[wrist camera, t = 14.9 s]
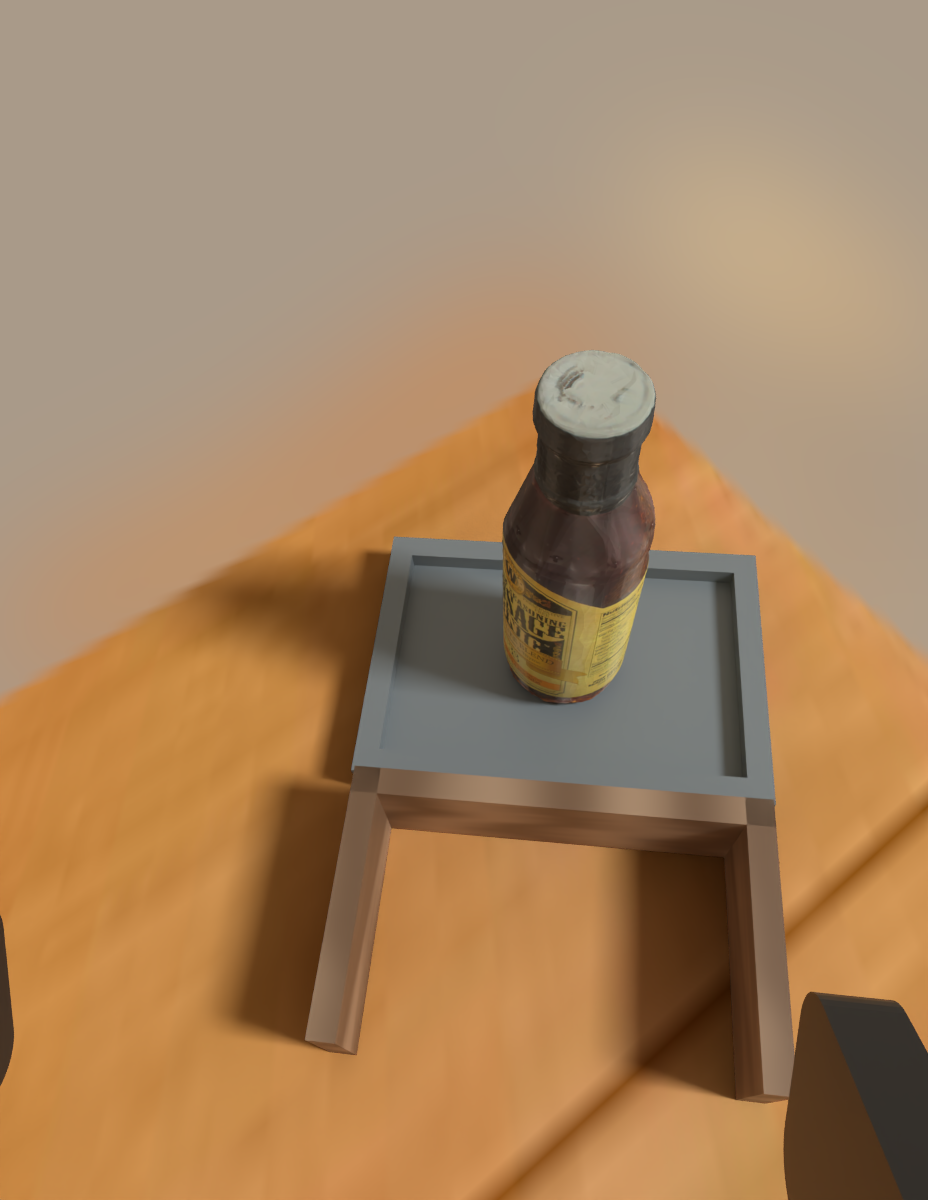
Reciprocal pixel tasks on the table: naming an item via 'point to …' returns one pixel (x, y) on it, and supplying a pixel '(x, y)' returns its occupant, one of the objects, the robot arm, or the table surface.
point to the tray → (583, 729)
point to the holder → (578, 819)
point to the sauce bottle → (579, 529)
